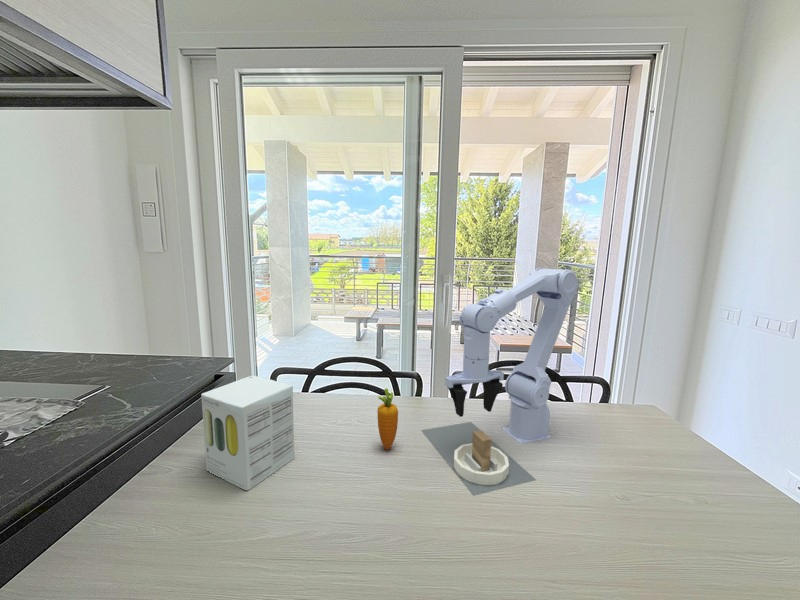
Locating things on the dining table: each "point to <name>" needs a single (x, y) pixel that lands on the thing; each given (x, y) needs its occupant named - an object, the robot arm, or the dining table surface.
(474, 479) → the plate
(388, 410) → the carrot
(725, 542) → the dining table surface
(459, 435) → the slate board
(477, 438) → the tan cardboard box
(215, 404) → the supplement box
